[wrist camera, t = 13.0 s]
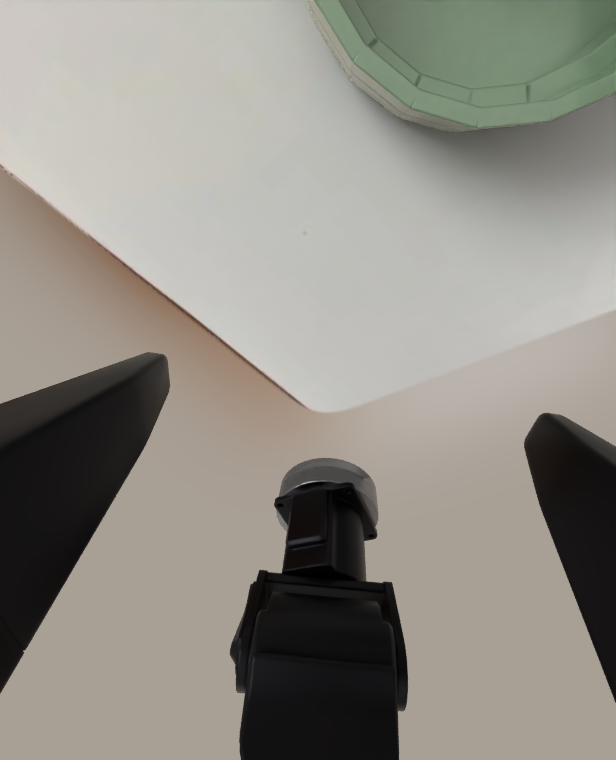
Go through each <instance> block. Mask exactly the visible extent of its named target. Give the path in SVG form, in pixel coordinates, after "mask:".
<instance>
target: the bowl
mask: <svg viewBox="0 0 616 760" xmlns="http://www.w3.org/2000/svg"><path fill="white" fill-rule="evenodd" d="M307 2H308V5H309V8H310V12H311V15H312V18H313V20H314V23H315V25H316V26H317V28H318V29H319V31H320V33H321V34H322V36H323V37H324V39H325V41H326V42H327V44H328V45H329V47H330V49H331V50H332V52H333V53H334V55H335V56H336V58H337V60H338V61H339V63H340V64H341V66H342V68H343V69H344V71H345V72H346V74H347V76H348V77H349V79H350V80H351V79H352V82H353V83H355V84H356V85H357V86H358V87H360V88H361V89H362V90H363V91H365V92H366V93H367V94H368V95H370V96H371V97H372V98H373V99H375V100H376V101H377V102H378V103H380V104H381V105H382V106H383V107H385V108H386V109H387V110H388V111H390V112H391V113H392V114H393V115H395V116H398V117H399V118H401V119H405V120H408V121H412V122H415V123H418V124H422V125H425V126H429V127H432V128H436V129H439V130H442V131H446V132H462V131H472V130H483V129H493V128H503V127H512V126H520V125H528V124H536V123H544V122H550V121H553V120H555V119H558V118H560V117H562V116H565V115H567V114H569V113H571V112H574V111H576V110H578V109H581V108H583V107H585V106H588V105H590V104H592V103H595V102H597V101H599V100H602V99H604V98H606V97H609V96H611V95H613V94H615V93H616V0H307Z"/></svg>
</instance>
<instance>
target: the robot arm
mask: <svg viewBox="0 0 616 760" xmlns="http://www.w3.org/2000/svg"><path fill="white" fill-rule="evenodd" d="M168 371H169V370H168V361H167V357H166V356H165V355H163V354H158V353H151V352H147V353H144V354H141V355H138V356H136V357H133V358H130V359H127V360H124V361H121V362H118V363H116V364H113V365H110V366H107V367H104V368H101V369H98V370H96V371H93V372H90V373H87V374H84V375H81V376H78V377H76V378H73V379H70V380H67V381H64V382H62V383H59V384H56V385H53V386H50V387H47V388H44V389H41V390H39V391H36V392H33V393H30V394H27V395H24V396H22V397H19V398H16V399H13V400H10V401H8V402H5V403H2V404H0V693H1V691H2V690H3V688H4V686H5V685H6V683H7V681H8V680H9V678H10V676H11V675H12V673H13V671H14V669H15V668H16V666H17V664H18V663H19V661H20V659H21V657H22V656H23V654H24V652H23V651H24V650H26V648H27V647H28V645H29V643H30V642H31V640H32V638H33V636H34V635H35V632H36V631H37V630H38V628H39V626H40V625H41V623H42V621H43V619H44V618H45V616H46V614H47V613H48V611H49V609H50V607H51V606H52V604H53V602H54V600H55V599H56V597H57V595H58V594H59V592H60V590H61V588H62V587H63V585H64V584H65V582H66V580H67V578H68V577H69V575H70V573H71V572H72V570H73V568H74V566H75V565H76V563H77V561H78V560H79V558H80V556H81V554H82V553H83V551H84V549H85V548H86V546H87V544H88V543H89V541H90V539H91V538H92V536H93V534H94V532H95V531H96V529H97V527H98V526H99V524H100V522H101V520H102V519H103V517H104V515H105V514H106V512H107V510H108V509H109V507H110V505H111V504H112V502H113V500H114V498H115V497H116V495H117V493H118V492H119V490H120V488H121V486H122V485H123V483H124V481H125V479H126V478H127V476H128V475H129V473H130V471H131V469H132V468H133V466H134V464H135V463H136V461H137V459H138V457H139V456H140V454H141V452H142V451H143V449H144V447H145V445H146V443H147V441H148V439H149V437H150V434H151V432H152V430H153V427H154V425H155V423H156V421H157V418H158V416H159V413H160V411H161V409H162V407H163V404H164V402H165V400H166V397H167V395H168V393H169V388H170V380H169V372H168ZM524 448H525V452H526V456H527V459H528V464H529V467H530V471H531V475H532V479H533V483H534V486H535V490H536V494H537V497H538V501H539V504H540V507H541V510H542V513H543V515H544V518H545V520H546V523H547V526H548V528H549V531H550V534H551V536H552V539H553V541H554V544H555V547H556V549H557V552H558V554H559V557H560V560H561V562H562V565H563V567H564V570H565V572H566V575H567V578H568V580H569V583H570V585H571V588H572V591H573V593H574V596H575V599H576V601H577V603H578V606H579V609H580V611H581V614H582V617H583V619H584V622H585V624H586V627H587V629H588V632H589V635H590V637H591V640H592V643H593V645H594V648H595V650H596V653H597V656H598V658H599V661H600V663H601V666H602V669H603V671H604V674H605V676H606V679H607V682H608V684H609V687H610V689H611V692H612V694H613V697H614V700H615V702H616V446H614V445H612V444H610V443H609V442H607V441H605V440H604V439H602V438H600V437H598V436H597V435H595V434H593V433H592V432H590V431H588V430H586V429H585V428H583V427H581V426H580V425H578V424H576V423H574V422H573V421H571V420H569V419H568V418H566V417H564V416H562V415H557V414H551V413H543V414H541V415H540V416H539V417H538V418H537V420H536V422H535V423H534V425H533V427H532V428H531V430H530V431H529V433H528V435H527V437H526V439H525V442H524ZM274 506H275V508H276V509H277V511H278V512H279V514H280V515H281V517H282V518H283V520H284V521H285V523H286V524H287V525H288V529H287V536H286V548H285V555H284V561H283V569H282V573H271V572H268V571H266V570H259V573H258V577H257V581H256V582H254V583H253V584H251V585H250V590H249V595H248V600H247V604H246V608H245V612H244V614H243V617H242V619H241V622H240V624H239V627H238V629H237V632H236V634H235V636H234V639H233V642H232V644H231V649H230V656H231V658H232V659H233V661H234V663H235V664H236V666H235V670H236V671H235V673H236V691H237V692H238V693H245V699H244V706H243V714H242V721H241V729H240V740H239V741H240V756H241V760H399V739H398V738H399V736H398V711H404V710H405V708H406V703H407V693H408V673H407V657H406V649H405V643H404V638H403V632H402V628H401V623H400V618H399V614H398V609H397V604H396V599H395V594H394V589H393V585H392V582H383V583H377V582H367V581H366V567H365V548H364V541H366V540H372V539H375V538H376V537H377V530H376V528H375V526H374V524H373V522H372V520H371V518H370V516H369V514H368V512H367V510H366V508H365V506H364V503H363V501H362V499H361V497H360V495H359V493H358V491H357V489H356V487H355V485H354V484H353V483H351V482H344V483H340V484H335V485H331V486H326V487H322V488H317V489H313V490H308V491H304V492H299V493H295V494H290V495H285V496H281V497H277V498H276V499H275V503H274Z"/></svg>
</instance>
